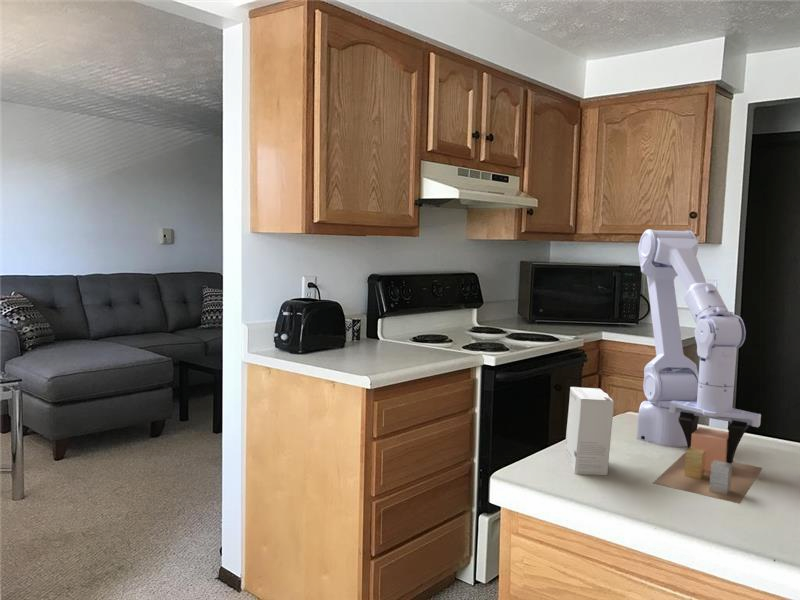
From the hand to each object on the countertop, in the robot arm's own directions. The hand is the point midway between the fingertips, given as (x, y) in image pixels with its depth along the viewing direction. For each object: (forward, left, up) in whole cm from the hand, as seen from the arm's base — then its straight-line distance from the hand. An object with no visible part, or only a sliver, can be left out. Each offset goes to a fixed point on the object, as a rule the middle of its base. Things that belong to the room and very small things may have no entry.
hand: (710, 458), depth 119 cm
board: (+1, -5, -3) cm, 6 cm away
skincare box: (-17, -15, -3) cm, 23 cm away
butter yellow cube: (-1, -7, -1) cm, 7 cm away
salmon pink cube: (0, 0, -1) cm, 1 cm away
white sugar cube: (+4, -12, -1) cm, 13 cm away
